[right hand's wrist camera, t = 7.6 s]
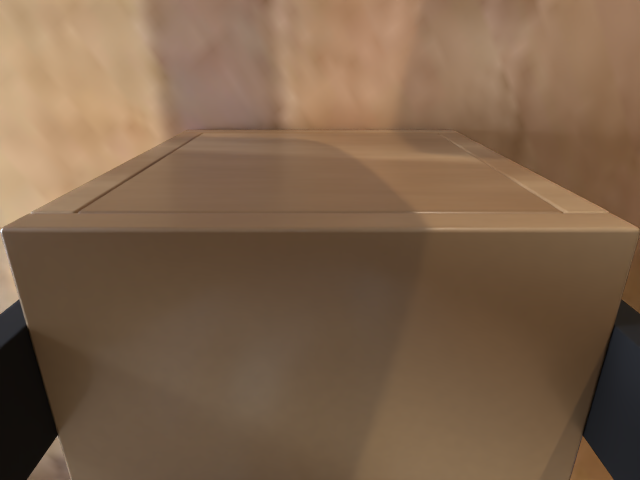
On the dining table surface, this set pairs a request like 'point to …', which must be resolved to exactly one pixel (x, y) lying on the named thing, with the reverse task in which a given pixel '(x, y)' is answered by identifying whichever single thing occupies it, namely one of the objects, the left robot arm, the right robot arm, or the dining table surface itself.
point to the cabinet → (320, 310)
